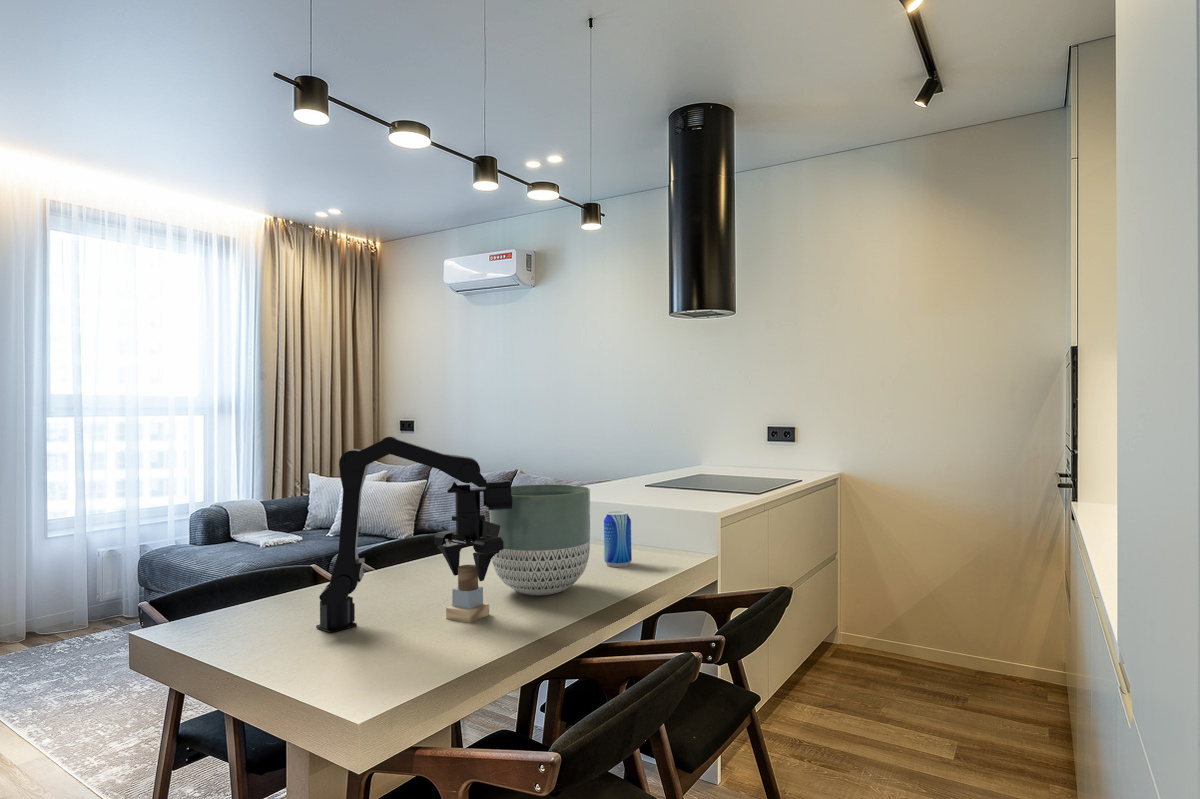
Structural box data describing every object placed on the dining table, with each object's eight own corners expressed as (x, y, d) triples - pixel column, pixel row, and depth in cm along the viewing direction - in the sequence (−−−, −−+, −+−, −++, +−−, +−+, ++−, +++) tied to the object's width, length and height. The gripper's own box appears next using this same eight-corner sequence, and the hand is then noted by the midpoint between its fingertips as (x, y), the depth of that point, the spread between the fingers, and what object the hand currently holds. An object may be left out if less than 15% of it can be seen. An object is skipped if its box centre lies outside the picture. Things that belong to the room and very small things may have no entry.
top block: (468, 609, 157) (468, 591, 157) (452, 606, 159) (452, 589, 159) (483, 603, 161) (482, 586, 161) (467, 601, 164) (467, 584, 164)
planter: (607, 584, 187) (606, 486, 188) (561, 610, 163) (560, 497, 164) (524, 576, 198) (522, 483, 199) (469, 599, 174) (468, 493, 175)
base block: (469, 624, 155) (469, 611, 155) (446, 620, 158) (446, 607, 158) (489, 616, 161) (489, 603, 161) (466, 612, 164) (466, 600, 164)
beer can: (601, 563, 214) (600, 511, 214) (626, 560, 216) (625, 510, 217) (609, 568, 206) (608, 515, 206) (635, 566, 208) (634, 513, 209)
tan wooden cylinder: (466, 592, 156) (465, 570, 156) (454, 588, 160) (453, 567, 160) (482, 587, 160) (481, 566, 160) (470, 584, 163) (469, 563, 163)
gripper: (520, 510, 160) (521, 577, 160) (468, 504, 172) (469, 566, 172) (484, 516, 151) (485, 586, 151) (432, 509, 163) (433, 575, 163)
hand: (468, 578), depth 160 cm, fingers open, 9 cm apart
